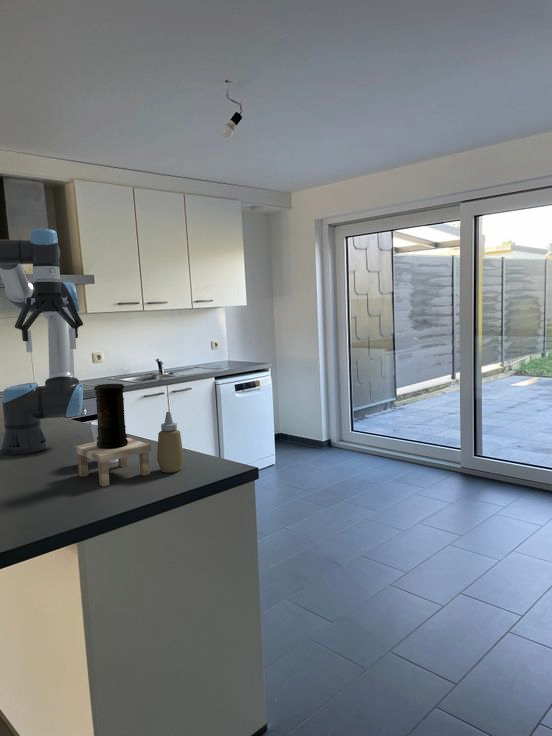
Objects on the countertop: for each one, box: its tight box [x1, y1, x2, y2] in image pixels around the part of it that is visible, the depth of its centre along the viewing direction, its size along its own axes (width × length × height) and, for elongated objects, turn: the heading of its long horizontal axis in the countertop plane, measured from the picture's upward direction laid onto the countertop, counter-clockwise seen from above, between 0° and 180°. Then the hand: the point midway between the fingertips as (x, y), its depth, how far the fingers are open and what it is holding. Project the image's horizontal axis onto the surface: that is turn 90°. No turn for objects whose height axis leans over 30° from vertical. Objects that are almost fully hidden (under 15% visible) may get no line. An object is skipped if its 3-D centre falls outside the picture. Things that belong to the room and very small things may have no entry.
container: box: [93, 383, 128, 449], centre depth 162 cm, size 9×9×18 cm
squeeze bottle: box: [156, 411, 185, 473], centre depth 166 cm, size 8×8×18 cm
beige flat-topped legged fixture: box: [74, 437, 152, 487], centre depth 164 cm, size 16×16×9 cm
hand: (51, 350), depth 171 cm, fingers open, 13 cm apart
